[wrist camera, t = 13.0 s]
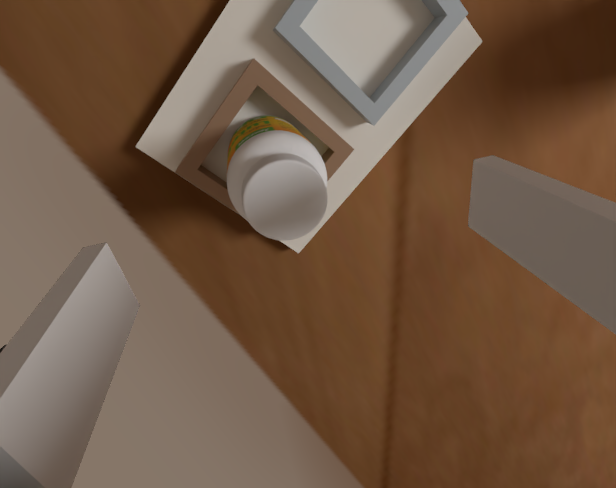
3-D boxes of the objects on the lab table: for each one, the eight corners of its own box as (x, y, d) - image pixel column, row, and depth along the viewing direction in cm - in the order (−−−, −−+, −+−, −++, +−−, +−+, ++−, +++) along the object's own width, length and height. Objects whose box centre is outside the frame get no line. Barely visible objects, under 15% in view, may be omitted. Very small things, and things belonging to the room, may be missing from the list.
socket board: (139, 143, 23) (129, 151, 21) (331, -155, 19) (346, -186, 16) (296, 246, 30) (301, 262, 27) (472, 42, 25) (497, 40, 22)
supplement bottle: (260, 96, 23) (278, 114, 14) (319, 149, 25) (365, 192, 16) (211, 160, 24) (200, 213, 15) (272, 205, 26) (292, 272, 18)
